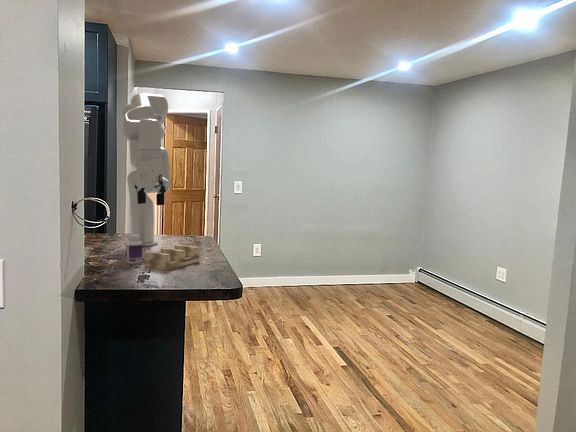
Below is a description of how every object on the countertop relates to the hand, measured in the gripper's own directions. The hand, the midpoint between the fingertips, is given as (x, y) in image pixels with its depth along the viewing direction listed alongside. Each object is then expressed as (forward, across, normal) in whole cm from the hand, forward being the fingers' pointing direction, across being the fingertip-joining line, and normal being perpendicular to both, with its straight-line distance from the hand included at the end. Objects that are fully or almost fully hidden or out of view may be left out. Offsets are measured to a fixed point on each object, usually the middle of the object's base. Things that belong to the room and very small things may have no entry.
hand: (151, 204), depth 164 cm
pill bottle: (+21, -3, -5) cm, 22 cm away
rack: (+21, +9, +2) cm, 22 cm away
